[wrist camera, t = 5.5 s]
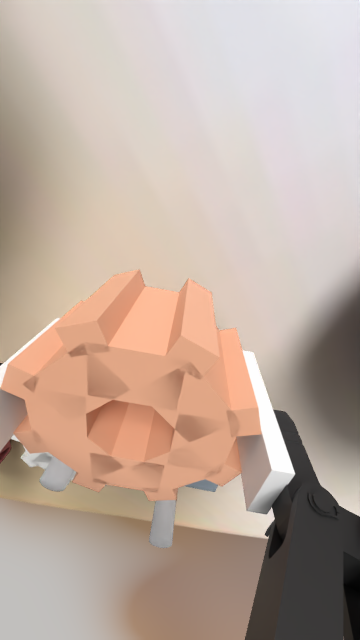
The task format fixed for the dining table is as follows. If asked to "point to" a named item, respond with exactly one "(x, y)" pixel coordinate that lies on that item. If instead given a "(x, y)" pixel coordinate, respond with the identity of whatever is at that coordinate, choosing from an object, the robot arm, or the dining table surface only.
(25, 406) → the robot arm
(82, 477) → the terracotta gear
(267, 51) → the dining table surface
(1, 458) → the mechanical component
